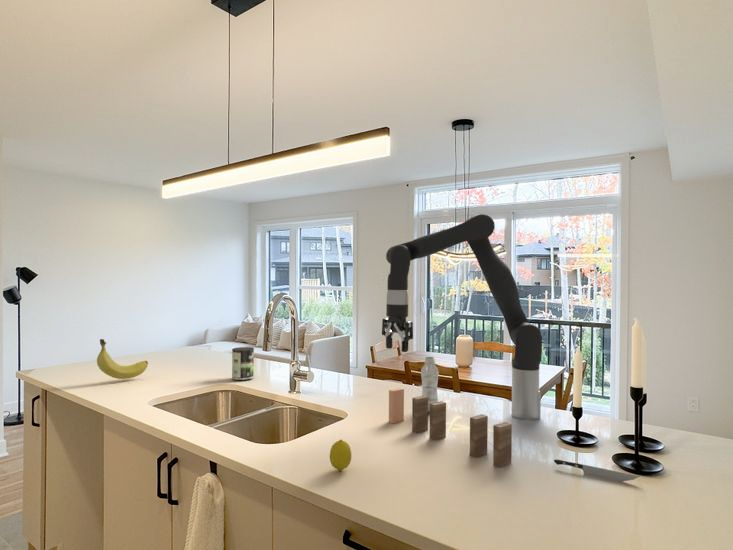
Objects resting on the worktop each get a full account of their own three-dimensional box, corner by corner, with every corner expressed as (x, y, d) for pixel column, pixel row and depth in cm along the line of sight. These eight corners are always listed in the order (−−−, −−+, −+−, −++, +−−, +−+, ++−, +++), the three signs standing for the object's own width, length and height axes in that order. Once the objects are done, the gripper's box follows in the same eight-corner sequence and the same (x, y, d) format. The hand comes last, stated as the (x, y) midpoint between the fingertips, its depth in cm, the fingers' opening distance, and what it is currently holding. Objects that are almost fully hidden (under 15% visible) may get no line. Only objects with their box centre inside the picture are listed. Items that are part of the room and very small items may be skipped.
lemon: (343, 477, 111) (343, 445, 111) (325, 472, 113) (325, 440, 113) (355, 469, 115) (355, 438, 115) (338, 464, 118) (338, 434, 118)
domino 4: (487, 455, 125) (487, 416, 125) (475, 459, 122) (475, 419, 122) (481, 453, 127) (481, 414, 127) (469, 457, 124) (470, 417, 124)
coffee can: (256, 375, 224) (256, 347, 224) (250, 380, 213) (250, 350, 213) (235, 375, 224) (235, 346, 224) (228, 379, 213) (229, 350, 213)
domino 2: (427, 430, 145) (428, 396, 145) (416, 434, 142) (416, 399, 142) (423, 429, 146) (423, 395, 146) (412, 432, 144) (412, 397, 144)
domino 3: (445, 438, 138) (446, 402, 138) (434, 441, 135) (434, 405, 135) (441, 436, 140) (441, 401, 140) (429, 439, 137) (429, 403, 137)
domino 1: (403, 421, 155) (404, 389, 155) (392, 423, 152) (392, 391, 152) (400, 419, 156) (400, 387, 156) (388, 422, 153) (389, 389, 153)
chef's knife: (640, 488, 106) (640, 475, 106) (640, 490, 106) (640, 477, 105) (554, 469, 116) (554, 458, 116) (553, 471, 115) (553, 459, 115)
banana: (145, 374, 224) (145, 334, 224) (150, 375, 220) (150, 335, 220) (94, 382, 207) (95, 338, 207) (99, 384, 203) (99, 339, 203)
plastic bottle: (438, 415, 161) (439, 359, 161) (419, 413, 163) (420, 358, 163) (439, 410, 168) (439, 356, 168) (421, 408, 169) (421, 355, 169)
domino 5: (511, 465, 119) (511, 423, 119) (499, 469, 116) (499, 427, 116) (505, 462, 120) (505, 421, 120) (493, 467, 118) (493, 425, 118)
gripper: (419, 304, 151) (418, 352, 151) (393, 301, 163) (392, 346, 162) (402, 304, 147) (401, 354, 146) (376, 302, 158) (375, 348, 158)
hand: (396, 350), depth 154 cm, fingers open, 8 cm apart
